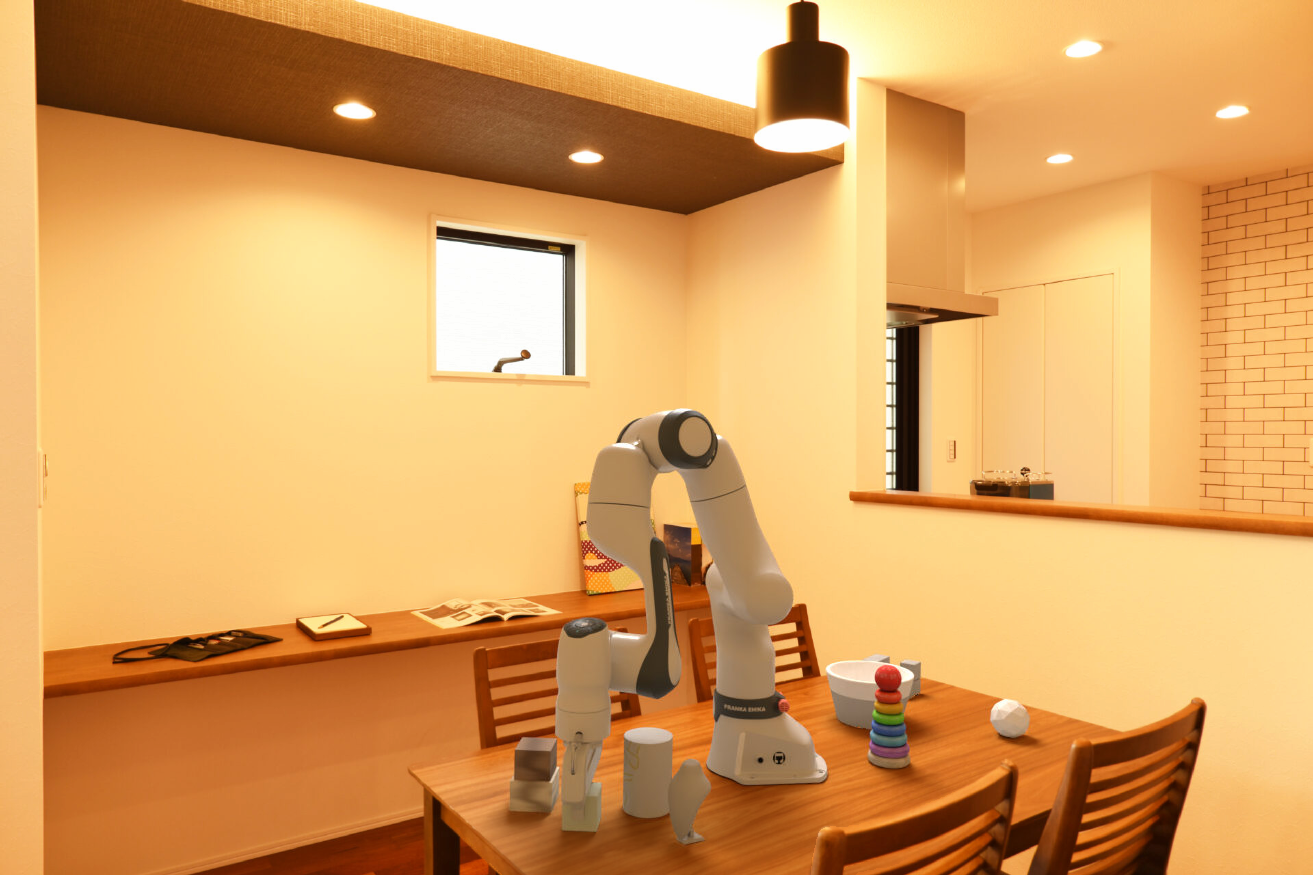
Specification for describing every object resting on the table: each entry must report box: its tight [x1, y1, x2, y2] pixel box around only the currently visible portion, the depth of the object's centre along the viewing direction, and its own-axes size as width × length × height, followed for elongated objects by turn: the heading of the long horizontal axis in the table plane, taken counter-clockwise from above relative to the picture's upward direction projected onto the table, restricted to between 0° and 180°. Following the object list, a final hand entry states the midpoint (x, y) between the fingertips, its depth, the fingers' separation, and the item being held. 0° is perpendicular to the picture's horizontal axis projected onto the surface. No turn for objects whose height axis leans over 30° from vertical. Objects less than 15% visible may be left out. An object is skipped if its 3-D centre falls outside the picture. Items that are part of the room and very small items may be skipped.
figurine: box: [668, 758, 712, 845], centre depth 132 cm, size 8×5×12 cm
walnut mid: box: [513, 736, 558, 781], centre depth 145 cm, size 6×6×5 cm
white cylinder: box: [622, 726, 674, 819], centre depth 143 cm, size 8×8×12 cm
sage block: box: [561, 781, 603, 833], centre depth 137 cm, size 6×6×6 cm
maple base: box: [508, 766, 560, 814], centre depth 145 cm, size 7×7×5 cm
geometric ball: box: [990, 698, 1031, 739], centre depth 182 cm, size 8×8×8 cm
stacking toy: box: [867, 665, 911, 769], centre depth 166 cm, size 8×8×19 cm
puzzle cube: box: [861, 653, 922, 700], centre depth 212 cm, size 12×12×8 cm
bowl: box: [825, 660, 914, 730], centre depth 192 cm, size 19×19×11 cm
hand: (581, 809), depth 137 cm, fingers closed on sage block, 5 cm apart
